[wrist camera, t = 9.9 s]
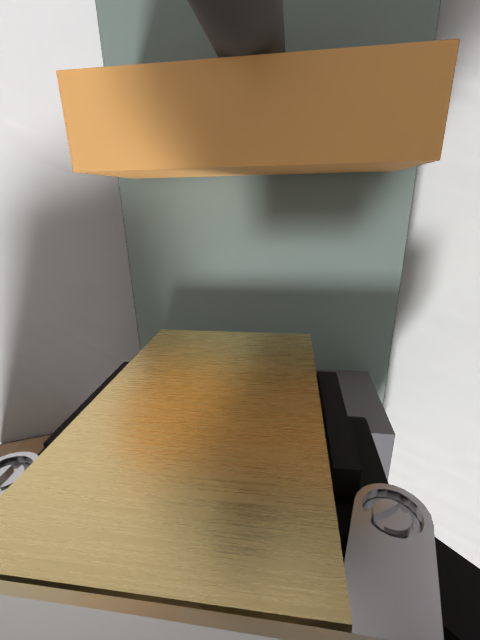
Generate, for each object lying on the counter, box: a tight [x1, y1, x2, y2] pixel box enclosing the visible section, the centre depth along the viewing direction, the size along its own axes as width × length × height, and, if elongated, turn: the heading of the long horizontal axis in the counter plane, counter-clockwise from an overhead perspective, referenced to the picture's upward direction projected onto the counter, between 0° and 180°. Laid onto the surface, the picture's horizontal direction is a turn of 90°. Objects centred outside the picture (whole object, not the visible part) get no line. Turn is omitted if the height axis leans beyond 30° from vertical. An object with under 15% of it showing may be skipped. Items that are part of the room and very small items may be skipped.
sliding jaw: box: [56, 0, 460, 179], centre depth 11 cm, size 12×5×8 cm, turn 91°
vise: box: [95, 0, 441, 481], centre depth 15 cm, size 14×30×7 cm, turn 1°
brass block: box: [0, 329, 353, 633], centre depth 8 cm, size 5×4×8 cm
